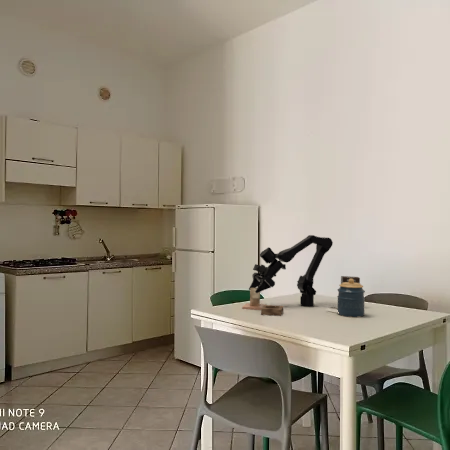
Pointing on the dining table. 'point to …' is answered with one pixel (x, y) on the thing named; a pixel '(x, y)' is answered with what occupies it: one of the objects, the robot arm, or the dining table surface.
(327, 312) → the dining table surface
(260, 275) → the robot arm
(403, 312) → the dining table surface
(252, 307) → the terracotta tile
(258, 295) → the birch peg
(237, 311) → the dining table surface
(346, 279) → the coffee box
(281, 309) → the walnut pocket block
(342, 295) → the canister
